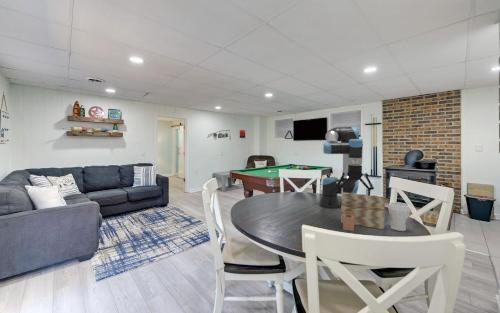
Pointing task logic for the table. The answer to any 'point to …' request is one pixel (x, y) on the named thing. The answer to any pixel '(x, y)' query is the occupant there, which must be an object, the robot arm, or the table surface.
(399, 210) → the cup
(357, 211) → the wallboard
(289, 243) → the table surface
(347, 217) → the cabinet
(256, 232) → the table surface
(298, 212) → the table surface
